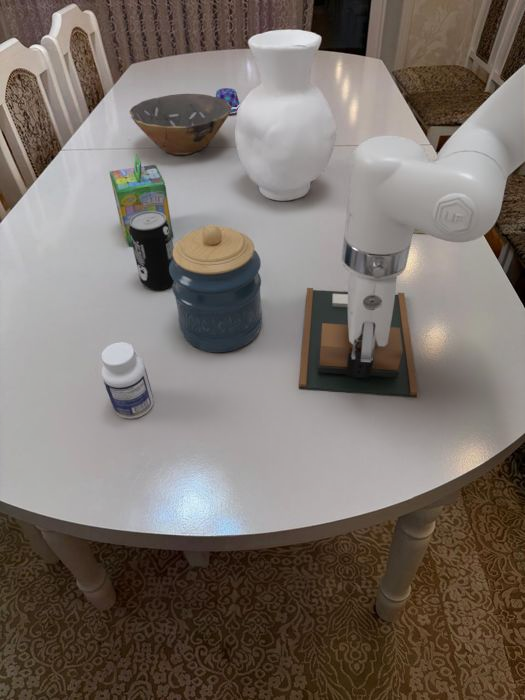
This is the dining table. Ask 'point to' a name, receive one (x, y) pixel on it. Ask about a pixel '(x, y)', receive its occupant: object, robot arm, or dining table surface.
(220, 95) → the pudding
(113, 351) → the pill bottle
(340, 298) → the chalk mark
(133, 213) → the chalk box
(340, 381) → the board
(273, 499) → the dining table surface
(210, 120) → the bowl
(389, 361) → the eraser
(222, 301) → the canister
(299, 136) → the vase
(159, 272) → the beverage can
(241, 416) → the dining table surface
